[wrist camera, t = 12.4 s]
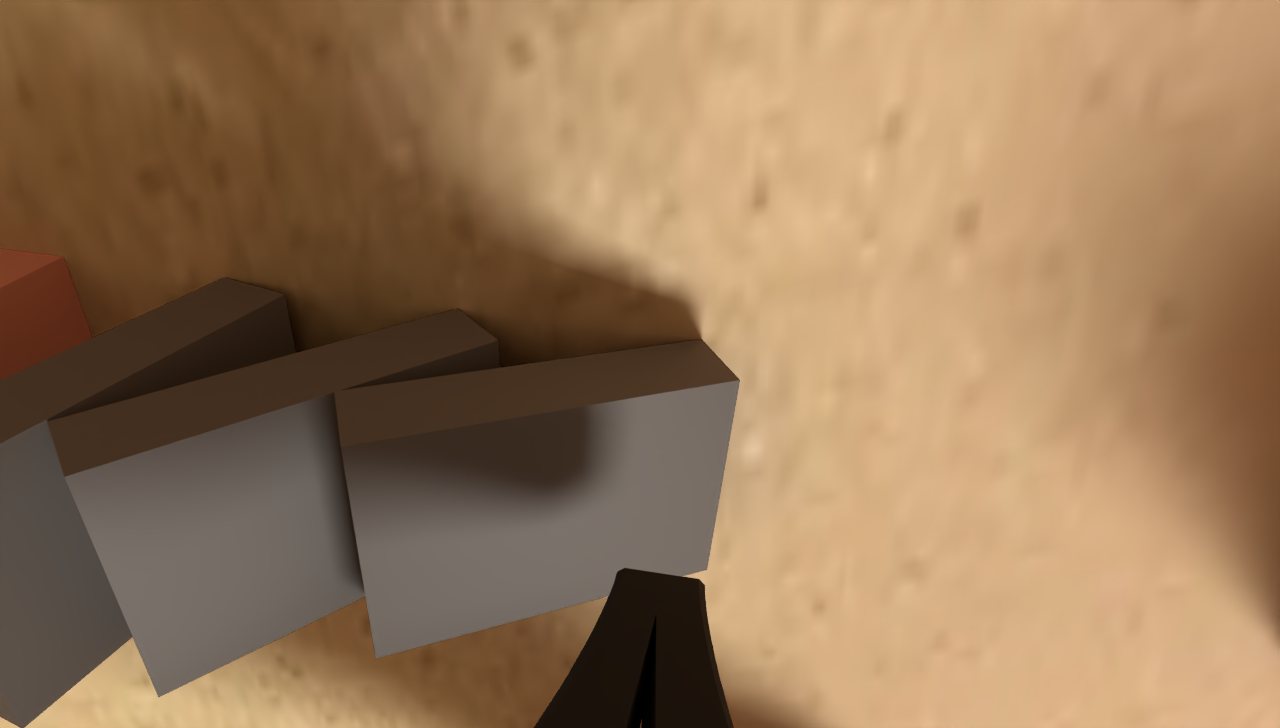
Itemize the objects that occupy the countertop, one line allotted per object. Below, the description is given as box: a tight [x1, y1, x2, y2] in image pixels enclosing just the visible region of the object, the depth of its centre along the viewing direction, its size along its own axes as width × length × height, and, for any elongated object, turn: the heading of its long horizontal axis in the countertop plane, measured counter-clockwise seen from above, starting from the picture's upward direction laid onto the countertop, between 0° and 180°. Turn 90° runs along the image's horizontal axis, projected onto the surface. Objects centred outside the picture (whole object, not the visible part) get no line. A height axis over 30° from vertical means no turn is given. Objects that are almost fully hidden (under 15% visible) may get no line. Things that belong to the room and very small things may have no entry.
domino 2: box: [47, 308, 499, 697], centre depth 14 cm, size 2×5×7 cm
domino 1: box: [334, 339, 740, 658], centre depth 15 cm, size 2×5×7 cm
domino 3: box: [0, 277, 296, 728], centre depth 14 cm, size 2×5×7 cm, turn 177°
